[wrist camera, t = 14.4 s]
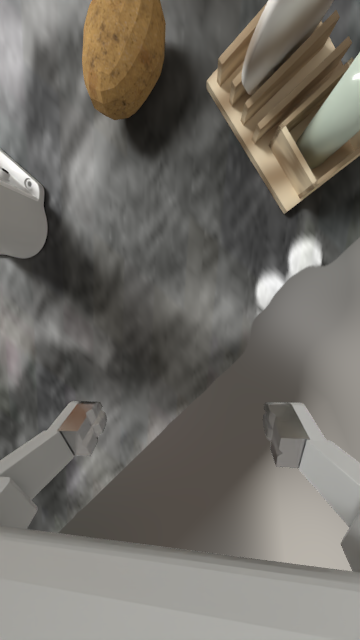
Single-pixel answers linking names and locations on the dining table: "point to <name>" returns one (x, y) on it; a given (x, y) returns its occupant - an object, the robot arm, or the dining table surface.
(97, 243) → the dining table surface
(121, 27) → the potato
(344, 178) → the dining table surface
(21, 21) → the dining table surface
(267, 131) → the rack
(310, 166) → the pale green glossy part
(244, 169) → the dining table surface
